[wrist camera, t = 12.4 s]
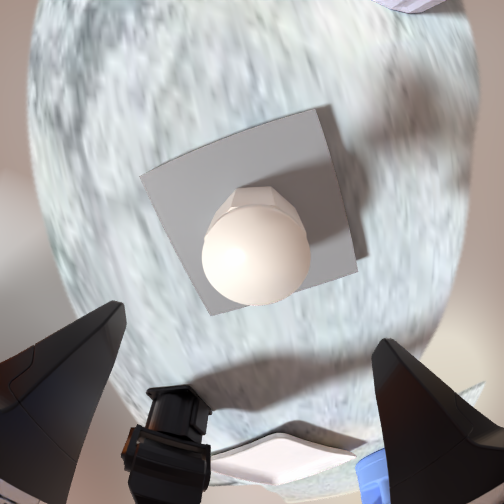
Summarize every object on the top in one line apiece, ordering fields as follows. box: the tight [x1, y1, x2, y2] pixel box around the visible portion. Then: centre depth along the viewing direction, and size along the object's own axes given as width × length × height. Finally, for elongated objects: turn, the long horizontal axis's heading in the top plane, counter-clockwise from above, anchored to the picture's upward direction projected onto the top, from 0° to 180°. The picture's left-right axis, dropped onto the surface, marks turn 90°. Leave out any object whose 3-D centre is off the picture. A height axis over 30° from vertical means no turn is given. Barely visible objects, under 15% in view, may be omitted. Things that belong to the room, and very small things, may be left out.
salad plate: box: [211, 433, 357, 486], centre depth 37 cm, size 21×21×3 cm
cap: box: [202, 186, 311, 306], centre depth 16 cm, size 5×5×5 cm
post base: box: [139, 109, 358, 316], centre depth 17 cm, size 12×12×6 cm
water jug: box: [355, 448, 391, 504], centre depth 30 cm, size 16×16×28 cm
